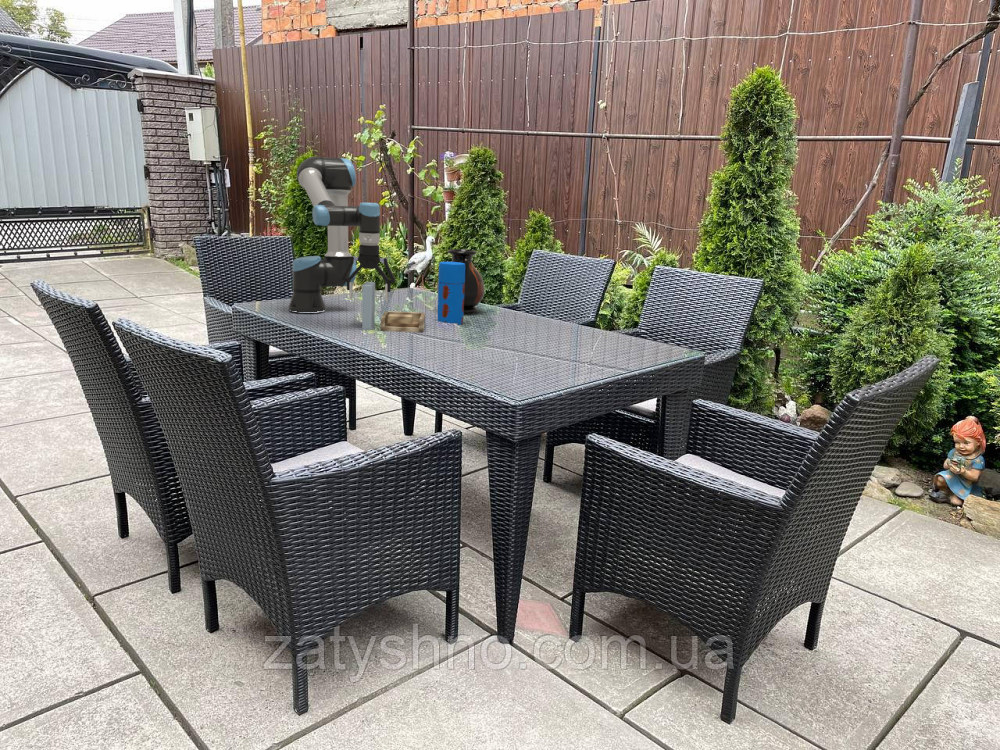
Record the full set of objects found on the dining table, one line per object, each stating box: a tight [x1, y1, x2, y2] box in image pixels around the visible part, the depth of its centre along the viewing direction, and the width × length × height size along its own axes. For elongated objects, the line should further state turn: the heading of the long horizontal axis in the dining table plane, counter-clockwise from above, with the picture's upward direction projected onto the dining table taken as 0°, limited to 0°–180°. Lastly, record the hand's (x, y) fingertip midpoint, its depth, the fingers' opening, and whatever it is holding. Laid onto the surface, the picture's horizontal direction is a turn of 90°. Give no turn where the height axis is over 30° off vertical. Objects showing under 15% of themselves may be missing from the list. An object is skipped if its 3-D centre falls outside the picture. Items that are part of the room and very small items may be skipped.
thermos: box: [437, 261, 465, 326], centre depth 309 cm, size 11×11×25 cm
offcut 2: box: [387, 321, 419, 328], centre depth 288 cm, size 12×5×3 cm, turn 93°
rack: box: [380, 310, 426, 333], centre depth 290 cm, size 16×15×6 cm
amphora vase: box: [436, 248, 485, 315], centre depth 336 cm, size 22×22×28 cm
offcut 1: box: [388, 314, 413, 324], centre depth 287 cm, size 9×5×3 cm, turn 93°
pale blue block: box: [361, 281, 376, 330], centre depth 288 cm, size 11×4×17 cm, turn 3°
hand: (368, 299), depth 288 cm, fingers open, 13 cm apart
